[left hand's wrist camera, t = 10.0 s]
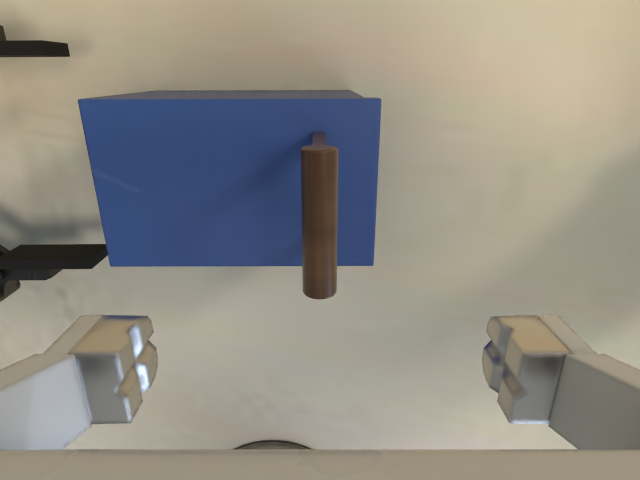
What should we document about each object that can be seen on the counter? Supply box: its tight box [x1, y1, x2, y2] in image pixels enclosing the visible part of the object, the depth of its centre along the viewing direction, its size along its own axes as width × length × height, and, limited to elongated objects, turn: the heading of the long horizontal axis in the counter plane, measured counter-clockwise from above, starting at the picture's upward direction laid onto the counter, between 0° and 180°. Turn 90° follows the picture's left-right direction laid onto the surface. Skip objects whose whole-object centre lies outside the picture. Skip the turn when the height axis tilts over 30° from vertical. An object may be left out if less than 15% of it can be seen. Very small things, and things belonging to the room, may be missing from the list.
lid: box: [78, 98, 381, 299], centre depth 21 cm, size 16×10×8 cm, turn 90°
